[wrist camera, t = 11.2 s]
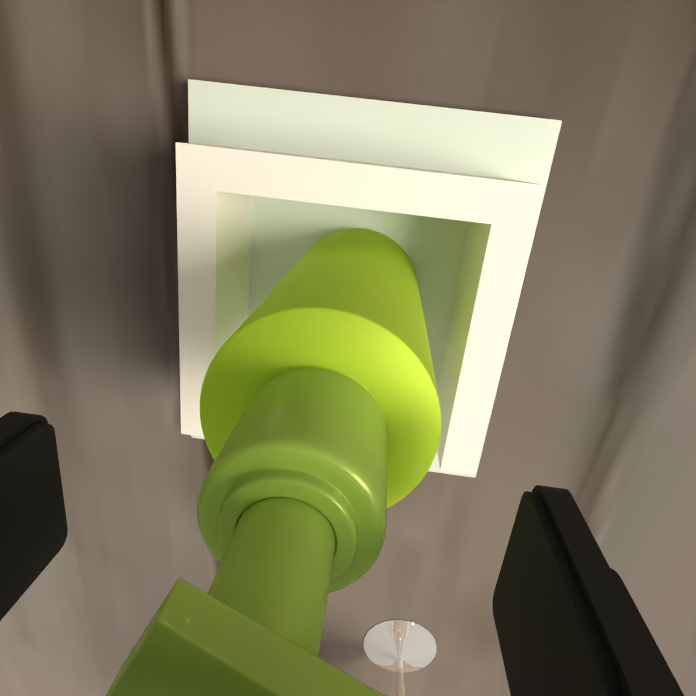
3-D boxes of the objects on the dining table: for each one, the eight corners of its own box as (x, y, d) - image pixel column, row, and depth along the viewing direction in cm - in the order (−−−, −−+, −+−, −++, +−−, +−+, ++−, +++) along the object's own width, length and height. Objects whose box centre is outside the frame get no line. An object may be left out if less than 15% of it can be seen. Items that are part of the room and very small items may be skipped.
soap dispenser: (392, 377, 26) (386, 963, 7) (276, 307, 25) (-83, 760, 6) (460, 282, 24) (710, 758, 5) (335, 203, 23) (68, 413, 4)
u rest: (196, 82, 22) (130, 57, 17) (554, 122, 22) (610, 110, 16) (198, 428, 29) (151, 493, 23) (472, 467, 28) (492, 543, 23)
